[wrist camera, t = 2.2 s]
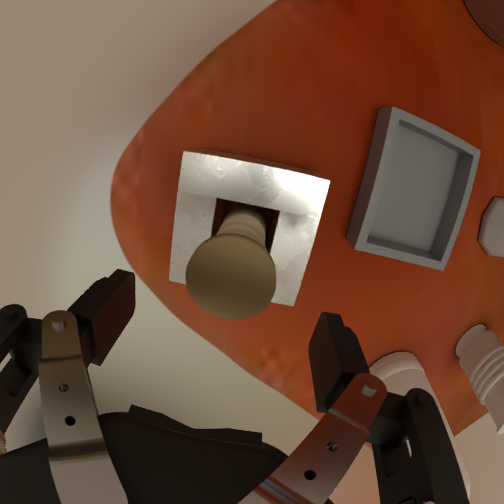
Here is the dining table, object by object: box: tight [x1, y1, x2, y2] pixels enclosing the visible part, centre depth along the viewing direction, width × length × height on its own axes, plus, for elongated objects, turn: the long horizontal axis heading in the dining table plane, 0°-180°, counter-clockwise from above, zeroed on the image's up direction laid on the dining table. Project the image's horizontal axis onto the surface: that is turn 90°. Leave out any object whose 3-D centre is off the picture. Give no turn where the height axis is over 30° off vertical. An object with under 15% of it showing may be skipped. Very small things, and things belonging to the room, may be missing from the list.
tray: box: [346, 106, 481, 271], centre depth 21 cm, size 12×10×3 cm
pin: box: [185, 201, 276, 320], centre depth 19 cm, size 4×4×12 cm
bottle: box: [369, 351, 470, 499], centre depth 18 cm, size 8×8×30 cm
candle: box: [456, 324, 504, 434], centre depth 22 cm, size 7×7×15 cm
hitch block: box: [169, 148, 330, 306], centre depth 22 cm, size 10×10×5 cm
